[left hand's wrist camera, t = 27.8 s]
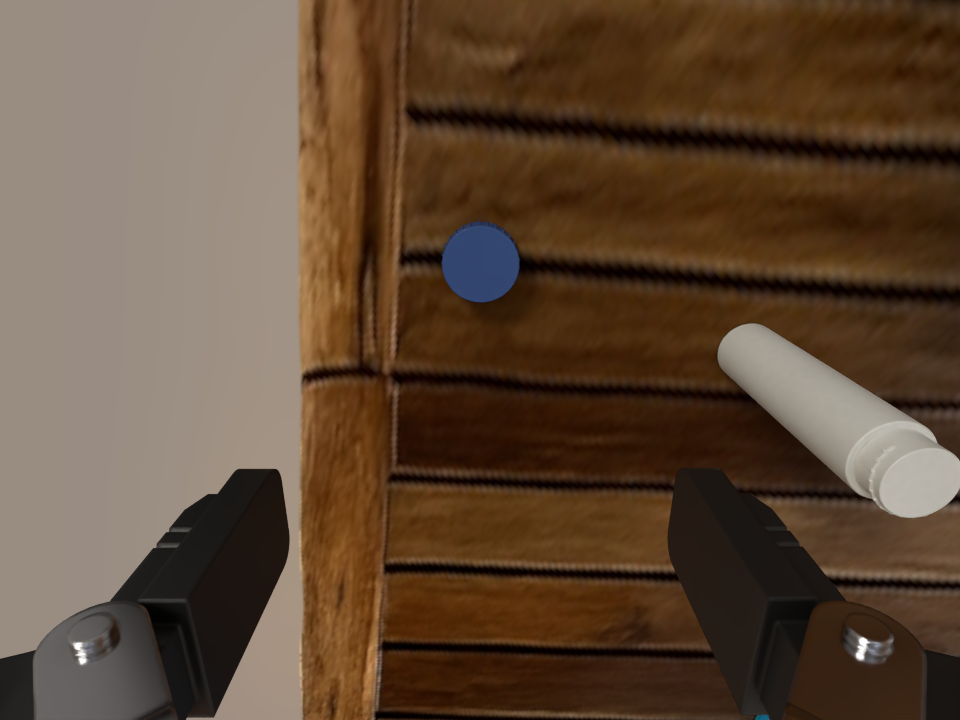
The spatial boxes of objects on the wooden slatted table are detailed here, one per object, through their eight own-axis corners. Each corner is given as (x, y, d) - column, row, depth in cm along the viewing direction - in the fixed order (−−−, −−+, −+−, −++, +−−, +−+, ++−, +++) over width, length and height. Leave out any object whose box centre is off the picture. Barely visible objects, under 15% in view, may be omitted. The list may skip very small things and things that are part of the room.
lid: (505, 304, 38) (507, 312, 36) (434, 284, 38) (432, 291, 36) (528, 232, 37) (530, 237, 35) (453, 211, 36) (452, 214, 34)
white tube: (708, 340, 39) (860, 467, 24) (765, 312, 39) (960, 425, 23) (728, 387, 40) (885, 538, 25) (784, 362, 40) (981, 500, 24)
